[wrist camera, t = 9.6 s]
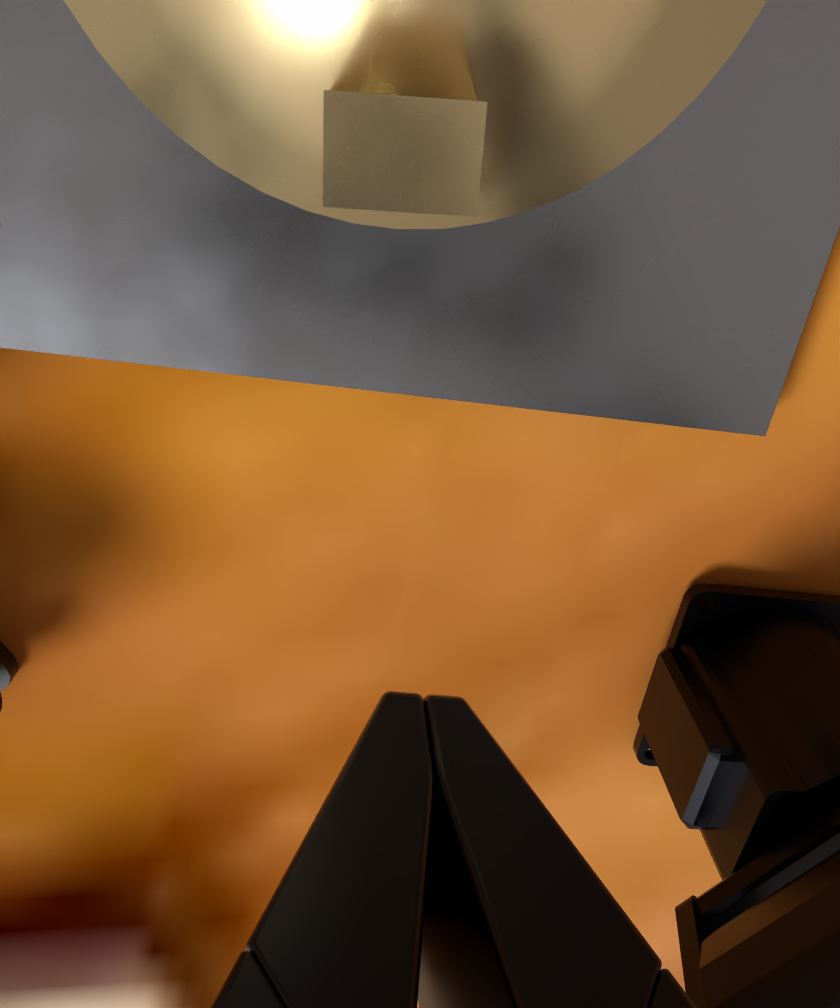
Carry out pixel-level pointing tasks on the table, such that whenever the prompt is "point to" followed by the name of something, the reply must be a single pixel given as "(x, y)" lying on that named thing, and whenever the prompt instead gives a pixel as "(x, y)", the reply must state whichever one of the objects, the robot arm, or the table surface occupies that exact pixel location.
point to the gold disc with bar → (416, 93)
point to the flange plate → (433, 248)
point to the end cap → (6, 668)
